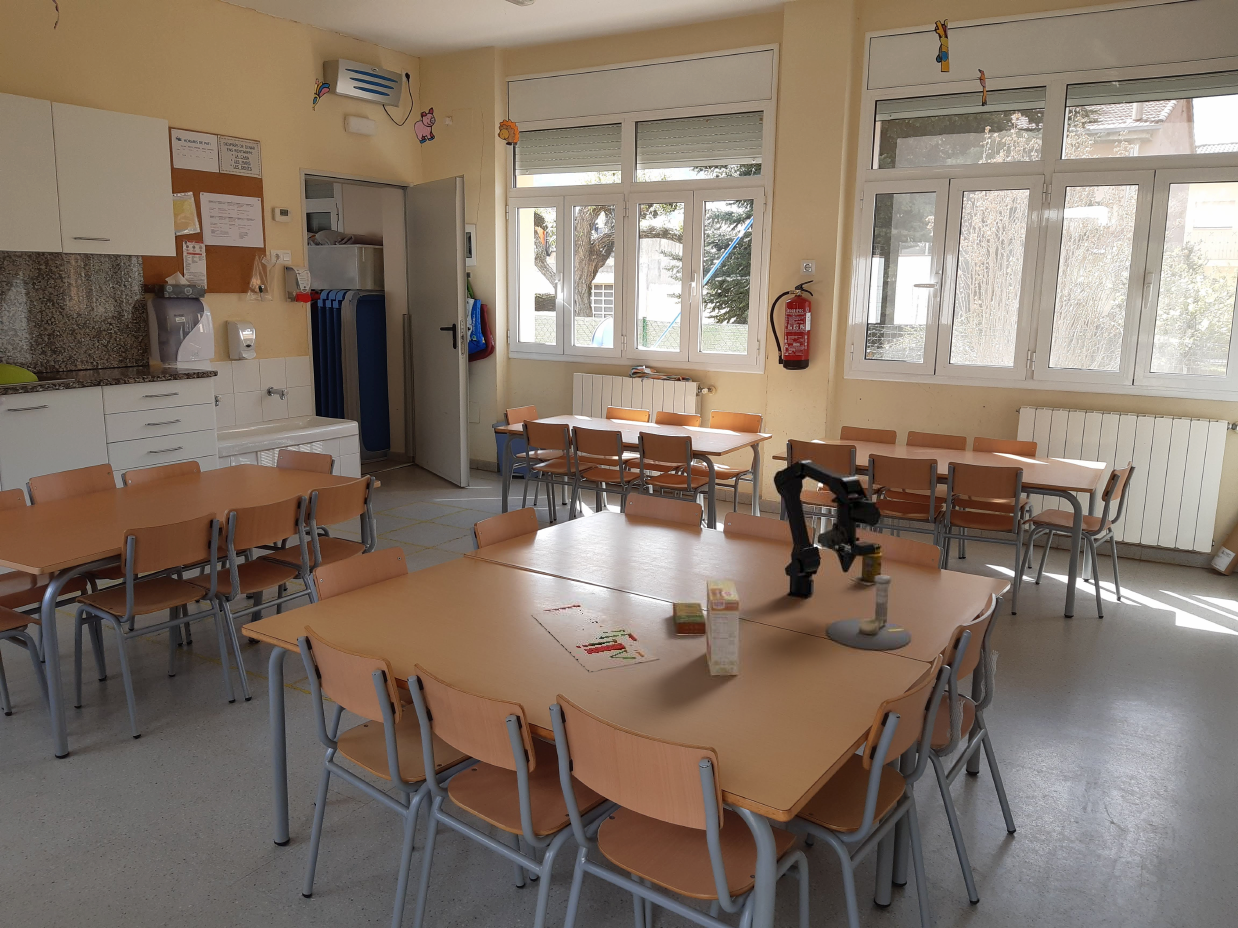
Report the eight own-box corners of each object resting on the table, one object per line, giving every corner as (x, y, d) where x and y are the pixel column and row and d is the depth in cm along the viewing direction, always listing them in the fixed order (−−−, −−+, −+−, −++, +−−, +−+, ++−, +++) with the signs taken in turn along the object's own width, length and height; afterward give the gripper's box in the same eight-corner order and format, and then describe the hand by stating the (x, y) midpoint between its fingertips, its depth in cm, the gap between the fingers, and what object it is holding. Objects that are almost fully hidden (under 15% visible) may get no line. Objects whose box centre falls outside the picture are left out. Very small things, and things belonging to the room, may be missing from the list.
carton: (701, 616, 259) (701, 602, 258) (706, 636, 243) (706, 621, 242) (672, 616, 259) (672, 602, 258) (676, 636, 243) (676, 621, 242)
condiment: (886, 580, 289) (888, 545, 287) (868, 585, 285) (870, 549, 282) (868, 575, 295) (870, 540, 293) (851, 579, 291) (852, 544, 288)
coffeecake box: (705, 652, 231) (706, 579, 228) (732, 652, 231) (734, 580, 227) (709, 675, 216) (710, 599, 213) (738, 676, 216) (740, 599, 213)
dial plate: (816, 640, 238) (816, 637, 238) (839, 615, 257) (840, 613, 257) (900, 655, 228) (900, 653, 228) (918, 628, 246) (918, 626, 246)
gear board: (659, 652, 226) (589, 665, 219) (659, 661, 227) (589, 674, 219) (592, 599, 267) (531, 609, 259) (593, 607, 267) (531, 617, 260)
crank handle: (873, 635, 239) (875, 588, 236) (856, 631, 242) (857, 584, 240) (892, 622, 248) (894, 577, 246) (875, 618, 252) (877, 573, 249)
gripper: (803, 517, 261) (802, 568, 264) (846, 529, 245) (845, 584, 247) (833, 512, 266) (832, 563, 269) (877, 524, 250) (876, 578, 252)
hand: (845, 572), depth 259 cm, fingers closed
